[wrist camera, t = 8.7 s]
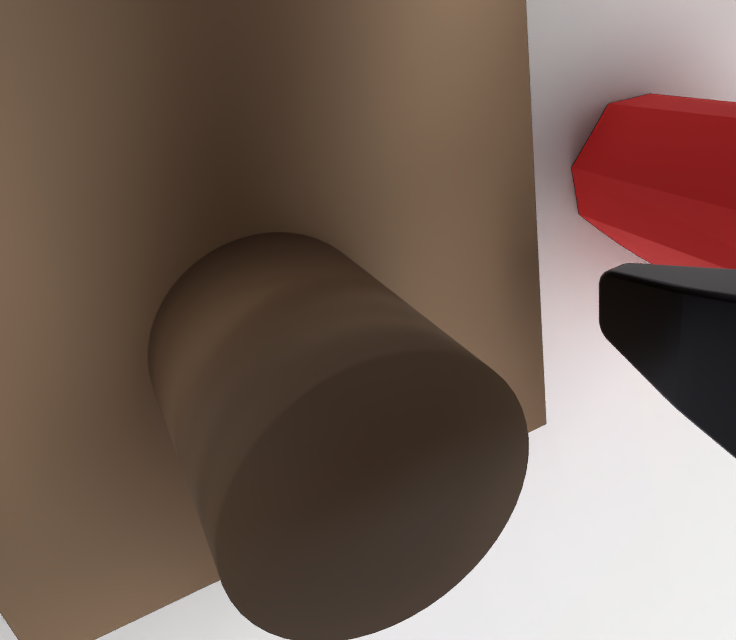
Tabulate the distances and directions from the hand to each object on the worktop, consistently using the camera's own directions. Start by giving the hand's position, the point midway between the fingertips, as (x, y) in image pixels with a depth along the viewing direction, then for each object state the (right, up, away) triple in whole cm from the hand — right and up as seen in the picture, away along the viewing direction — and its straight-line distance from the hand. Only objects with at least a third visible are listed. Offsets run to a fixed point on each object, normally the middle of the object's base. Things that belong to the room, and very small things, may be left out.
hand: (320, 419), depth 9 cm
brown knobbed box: (-4, +4, +6) cm, 8 cm away
